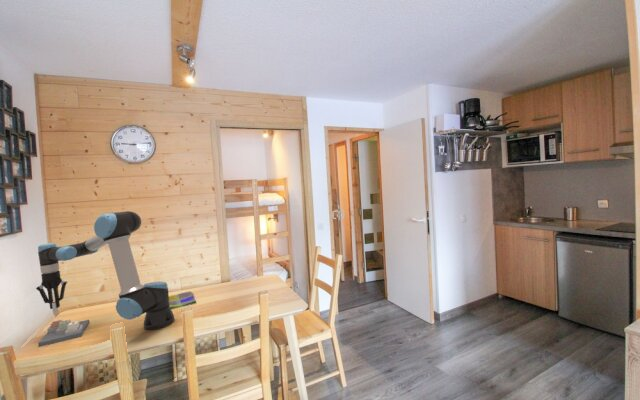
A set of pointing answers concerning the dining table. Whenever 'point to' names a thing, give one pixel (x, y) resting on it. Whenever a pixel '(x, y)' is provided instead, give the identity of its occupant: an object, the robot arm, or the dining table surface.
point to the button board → (62, 334)
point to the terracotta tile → (55, 324)
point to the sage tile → (64, 324)
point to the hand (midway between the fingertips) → (55, 313)
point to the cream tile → (73, 325)
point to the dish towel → (181, 300)
